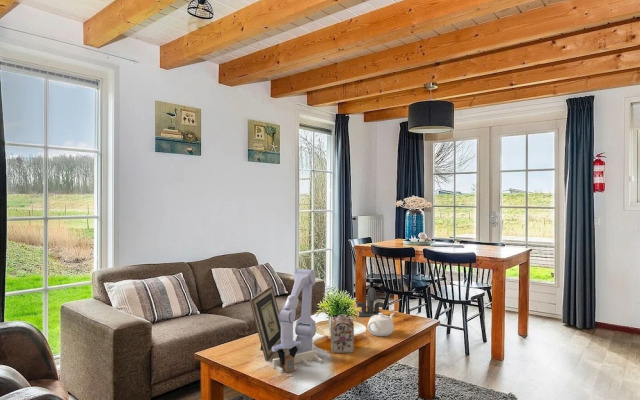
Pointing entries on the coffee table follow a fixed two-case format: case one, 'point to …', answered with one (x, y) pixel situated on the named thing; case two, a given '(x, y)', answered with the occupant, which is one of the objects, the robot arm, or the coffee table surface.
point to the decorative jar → (342, 334)
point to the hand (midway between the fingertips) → (286, 363)
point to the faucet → (370, 304)
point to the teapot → (381, 325)
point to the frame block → (288, 363)
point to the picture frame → (267, 320)
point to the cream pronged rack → (298, 359)
